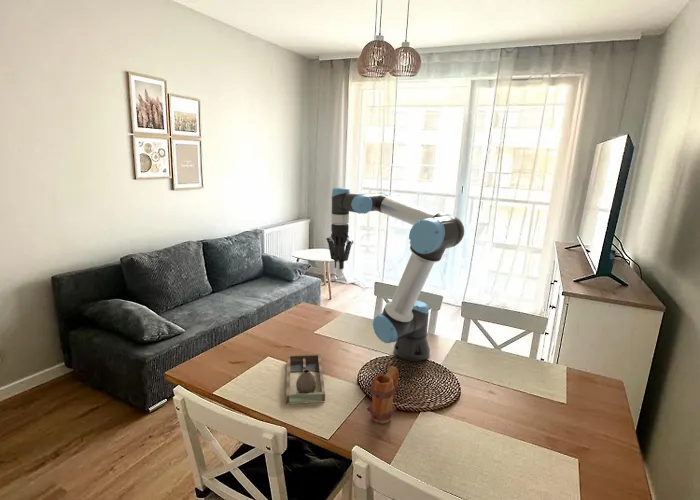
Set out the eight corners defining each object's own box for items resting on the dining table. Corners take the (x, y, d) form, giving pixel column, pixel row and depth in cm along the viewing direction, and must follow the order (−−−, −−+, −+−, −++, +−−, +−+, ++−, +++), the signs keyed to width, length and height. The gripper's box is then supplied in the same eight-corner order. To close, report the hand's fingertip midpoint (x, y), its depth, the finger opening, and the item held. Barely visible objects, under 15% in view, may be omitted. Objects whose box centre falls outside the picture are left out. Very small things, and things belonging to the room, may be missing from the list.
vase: (313, 400, 135) (313, 377, 133) (293, 398, 136) (293, 375, 134) (318, 389, 142) (318, 367, 140) (299, 387, 143) (299, 365, 141)
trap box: (287, 362, 160) (287, 355, 159) (320, 360, 162) (320, 353, 161) (286, 403, 133) (286, 395, 132) (325, 401, 135) (325, 393, 134)
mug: (385, 431, 121) (388, 387, 117) (362, 421, 125) (364, 378, 122) (405, 407, 133) (408, 366, 130) (384, 399, 137) (386, 359, 134)
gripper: (357, 224, 172) (355, 276, 177) (332, 220, 179) (331, 271, 184) (348, 226, 166) (346, 280, 171) (322, 222, 173) (322, 274, 178)
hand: (339, 275), depth 178 cm, fingers closed
